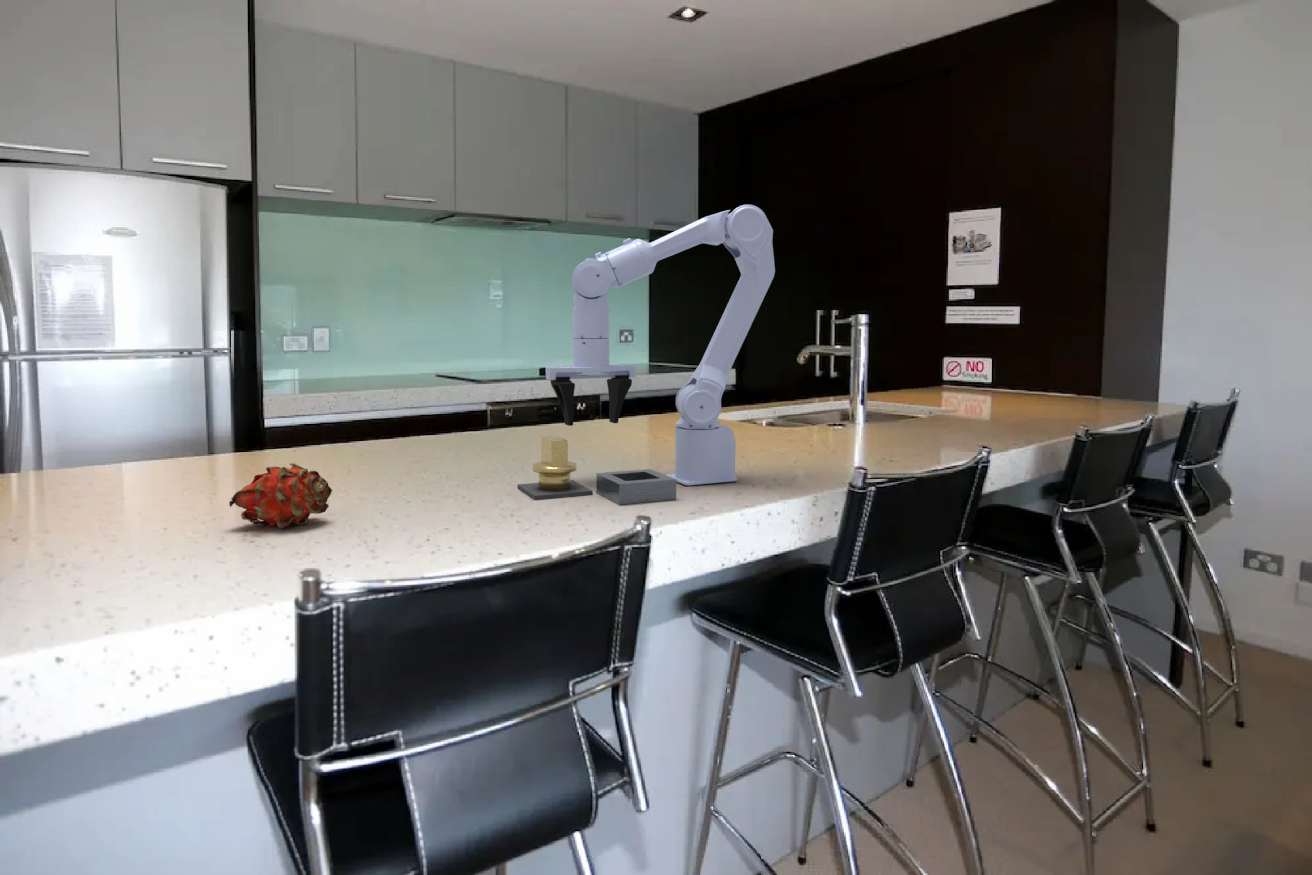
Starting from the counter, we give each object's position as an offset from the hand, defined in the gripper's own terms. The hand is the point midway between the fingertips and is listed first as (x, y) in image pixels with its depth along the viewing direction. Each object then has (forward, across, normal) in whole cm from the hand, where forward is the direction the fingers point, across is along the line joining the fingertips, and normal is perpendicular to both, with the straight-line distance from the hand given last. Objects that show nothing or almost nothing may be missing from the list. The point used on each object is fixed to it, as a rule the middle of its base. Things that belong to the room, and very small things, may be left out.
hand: (591, 423), depth 135 cm
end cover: (+9, +8, +5) cm, 13 cm away
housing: (+9, -2, +13) cm, 16 cm away
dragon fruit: (+10, +46, +11) cm, 48 cm away
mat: (+9, +8, +5) cm, 13 cm away
